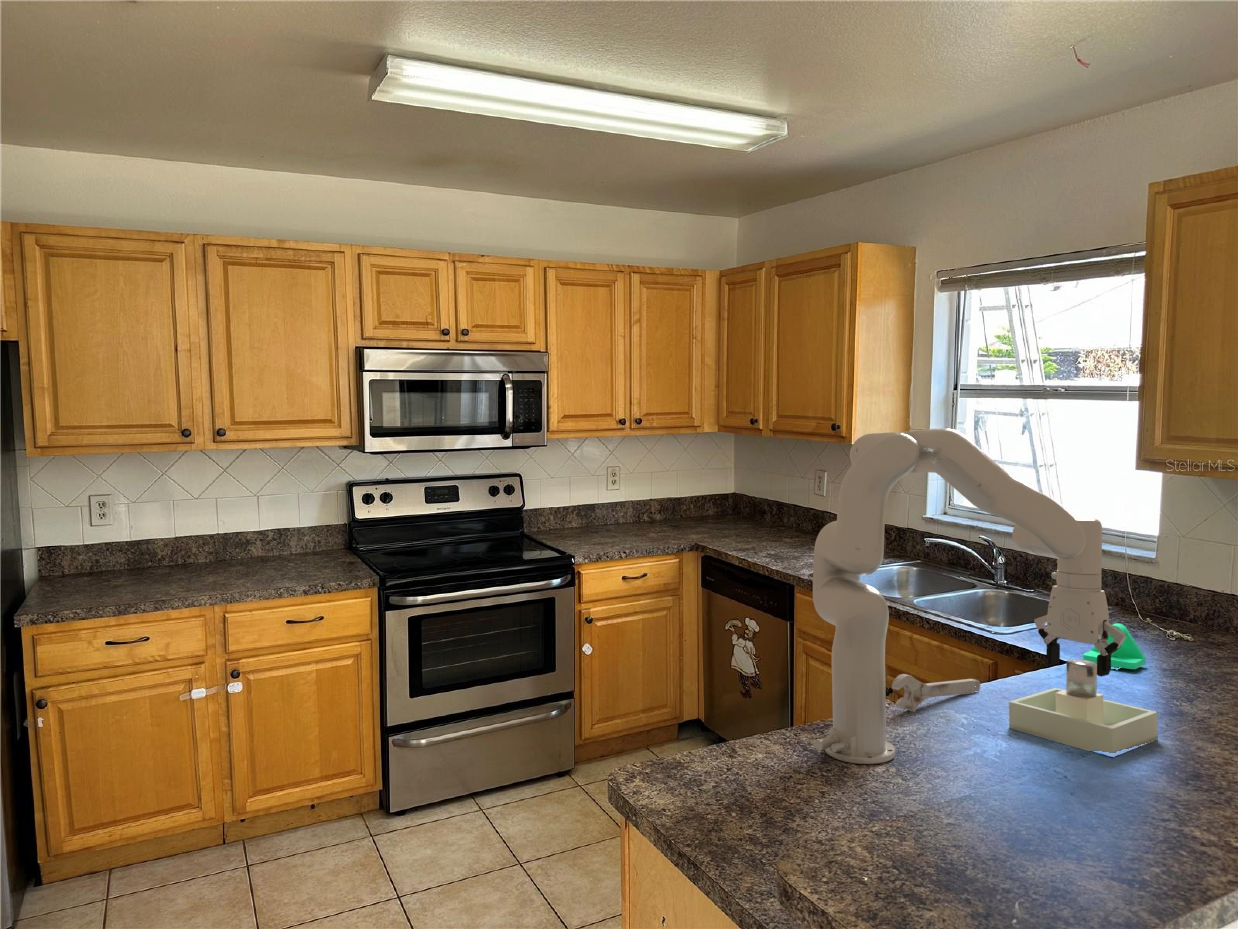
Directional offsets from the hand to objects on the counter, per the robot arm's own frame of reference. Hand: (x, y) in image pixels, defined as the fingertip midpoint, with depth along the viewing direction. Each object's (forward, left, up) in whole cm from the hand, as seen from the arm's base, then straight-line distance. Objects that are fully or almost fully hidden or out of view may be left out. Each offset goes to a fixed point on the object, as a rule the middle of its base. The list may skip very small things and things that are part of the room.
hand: (1077, 669), depth 164 cm
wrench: (-4, +29, -13) cm, 32 cm away
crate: (+1, 0, -13) cm, 13 cm away
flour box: (0, 0, -12) cm, 12 cm away
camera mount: (+55, +22, -13) cm, 61 cm away
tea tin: (+1, 0, -5) cm, 5 cm away
